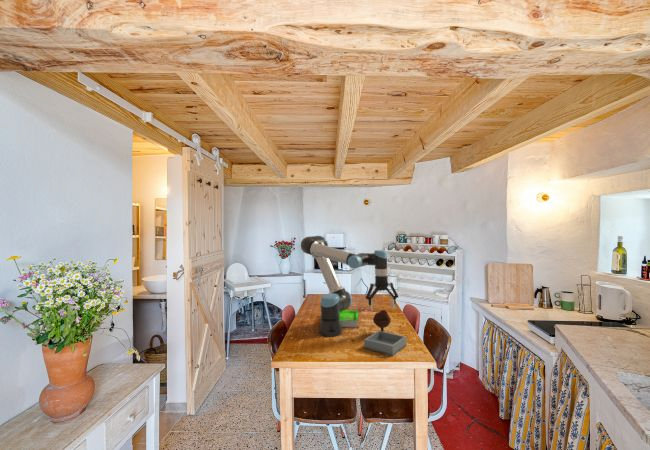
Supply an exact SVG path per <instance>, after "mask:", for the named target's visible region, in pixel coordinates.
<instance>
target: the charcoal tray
mask: <svg viewBox="0 0 650 450" xmlns="http://www.w3.org/2000/svg"><path fill="white" fill-rule="evenodd" d="M363 346H364V347H363V348H364V349H365V350H368V351H373V352H376V353H380V354H383V355H387V356H391V357H393V356H395V355H397V353H399V352H400V351H402V350H403V349H404V348H406V347H407V336H405V335H401V334H396V333H391V332H387V331H384V332H383V331H381V330H378V331H376V332H373V334H371V335H369V336H367V337H365V338H364V339H363Z"/></svg>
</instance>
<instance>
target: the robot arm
mask: <svg viewBox="0 0 650 450" xmlns="http://www.w3.org/2000/svg"><path fill="white" fill-rule="evenodd" d="M300 249H301V251H302V252H303V253H304V254H306V255H310V256H312V258H313V259H315V260H316V262H317V265H318V267H319V269H320V271H321V274H322V276H323V278H324V281H325V283H326V286H327V288H328V292H329V293H326V294H323V295H322V296H321V298H320V322H319V326H318V334H319V335H320V336H324V337H337V336H340V335H342V334H343V327H341V323H340V320H339V312H341V311H343V310H348V309H349V308H350V307H351V305H352V303H353V298H352V295H351V293H350V292H348V291H347V290H346V288H345V287H344V286H342V284H341V282H340V280H339V278H338V276H337V273H336V271H335V268H334V266H333V264H332V262H331V261H333V262H338V263H341V264H343V265H346V266H348V267H349V268H351V269H359V268H361V267H365V266H374V275H375V276H374V278H375V279H374V283H369V289H368V290H367V293H366V295H365V300H367V301H368V306H369V308H370V311H371V312H374V309H373V308H374V307H373V306H374V305H373V303H374V302H373V298H374V297H375V296H376V294H377V293H378V292H382V291H383V292H384V291H386V292H387V293H388V294H389V295H390V296H391V309H392V310H393V311H394V310H395V304H396V299H397V298H399V295H398V292H397V291H396V289H395V287H394V283H393V282H389V279H388V252H387V250H385V249H377V250H374V252H373V253H372V252H371V253H370V252H369V253H366V252H358V253H357V254H355V253H352V252H349V251H346V250H342V249H338V248H336V247H332V246H329V242H328V240H327V239H326V238H325V237H324V236H322V235H312V236H306V237H305V236H304V238H302V240H301V242H300ZM388 287H390V289H391V290H390V289H389V288H388ZM373 288H374V289H373ZM391 291H392V292H393V293H392V292H391Z"/></svg>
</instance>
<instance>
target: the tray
mask: <svg viewBox="0 0 650 450" xmlns="http://www.w3.org/2000/svg"><path fill="white" fill-rule="evenodd" d="M339 320H340V323H341V327H342V328H359V310H357V309H353V310H352V309H346V310H343V311H341V312H339Z"/></svg>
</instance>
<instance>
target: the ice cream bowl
mask: <svg viewBox="0 0 650 450" xmlns="http://www.w3.org/2000/svg"><path fill="white" fill-rule="evenodd" d="M372 320H373V323H374V325H375V326H377V327H378V328H380V331H383V332H385V331H384V329H385V328H387V327H388V326H389V325H390V324H391V321H392V318H391V317H390V315H389V313H388V312H387V310H384V309H381V310H380V311H377V312H375V314H374V316H373V317H372Z"/></svg>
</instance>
